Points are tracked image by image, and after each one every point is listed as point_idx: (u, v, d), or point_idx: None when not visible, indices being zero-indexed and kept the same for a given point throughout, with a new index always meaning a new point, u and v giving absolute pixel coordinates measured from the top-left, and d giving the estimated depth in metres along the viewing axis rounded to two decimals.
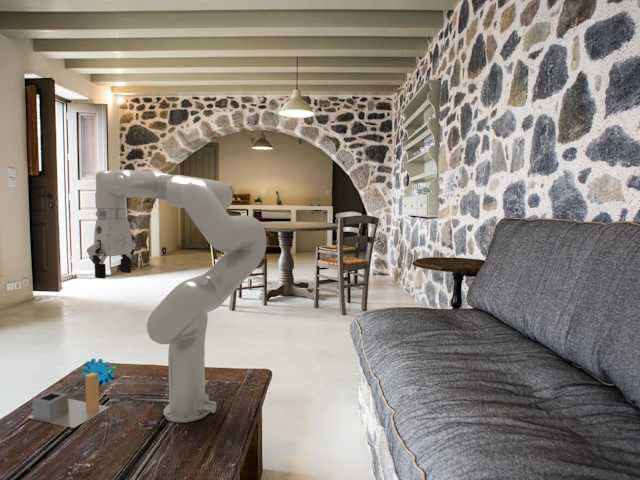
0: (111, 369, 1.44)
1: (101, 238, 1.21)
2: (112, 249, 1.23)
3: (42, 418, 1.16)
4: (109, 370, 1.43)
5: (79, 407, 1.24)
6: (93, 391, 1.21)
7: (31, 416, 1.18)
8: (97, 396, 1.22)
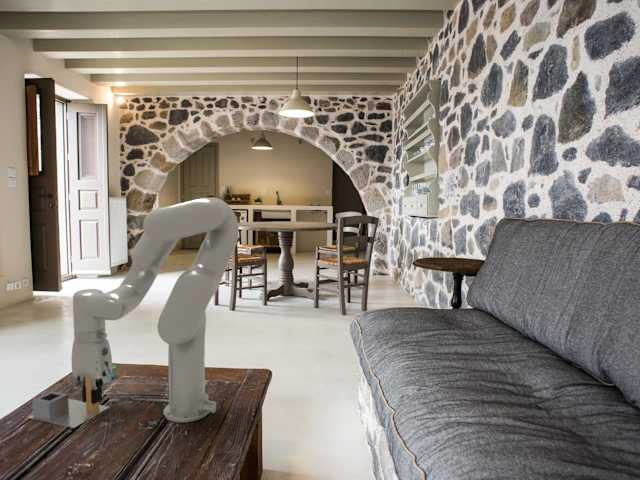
0: None
1: (108, 358, 1.20)
2: None
3: (42, 418, 1.16)
4: None
5: (79, 407, 1.24)
6: None
7: (31, 416, 1.18)
8: None
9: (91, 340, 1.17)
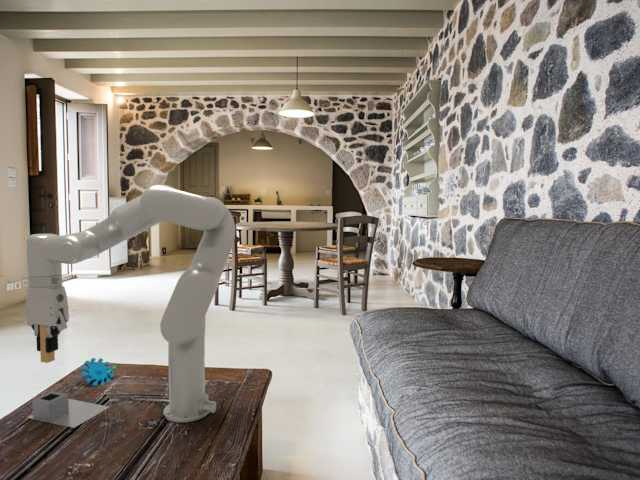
0: (111, 369, 1.44)
1: (63, 305, 1.16)
2: None
3: (42, 418, 1.16)
4: (109, 370, 1.44)
5: (79, 407, 1.24)
6: None
7: (31, 416, 1.18)
8: None
9: (45, 285, 1.13)
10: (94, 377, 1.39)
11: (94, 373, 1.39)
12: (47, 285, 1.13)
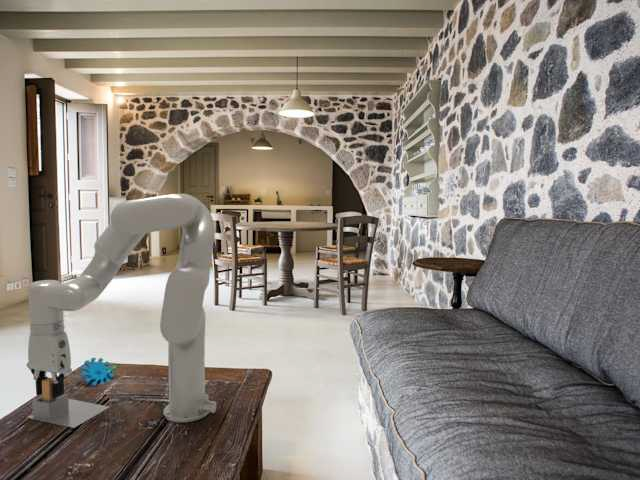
0: (111, 369, 1.44)
1: (65, 351, 1.17)
2: None
3: (42, 418, 1.16)
4: (108, 370, 1.44)
5: (79, 407, 1.24)
6: (51, 397, 1.17)
7: (31, 416, 1.18)
8: None
9: (47, 332, 1.14)
10: (93, 377, 1.39)
11: (94, 373, 1.40)
12: (49, 332, 1.14)
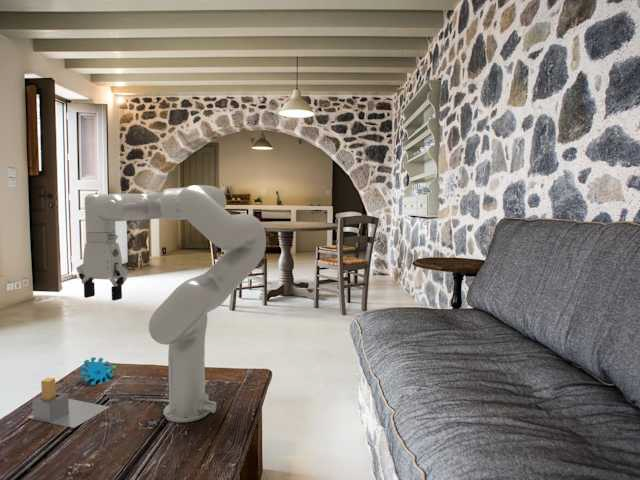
0: (110, 368, 1.45)
1: (118, 260, 1.25)
2: None
3: (42, 418, 1.16)
4: (108, 369, 1.44)
5: (79, 407, 1.24)
6: (50, 396, 1.17)
7: (31, 416, 1.18)
8: None
9: (102, 240, 1.22)
10: (92, 376, 1.39)
11: (93, 372, 1.40)
12: (104, 240, 1.22)
